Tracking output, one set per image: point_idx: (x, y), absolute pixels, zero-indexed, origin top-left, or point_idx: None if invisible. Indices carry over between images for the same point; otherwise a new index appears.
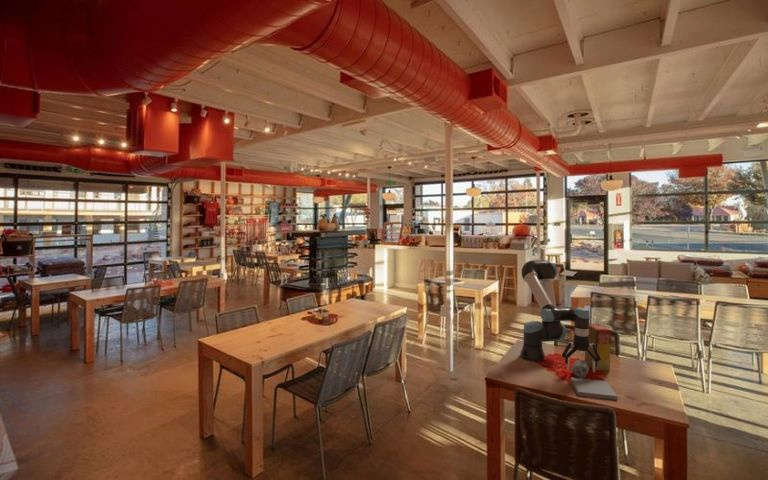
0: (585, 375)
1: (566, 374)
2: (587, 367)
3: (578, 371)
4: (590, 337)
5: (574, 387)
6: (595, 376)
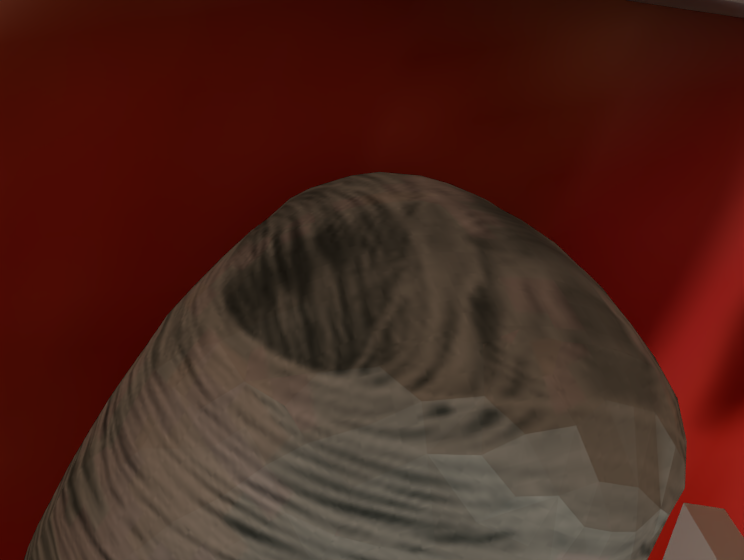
0: (300, 194)
1: None
2: (113, 433)
3: (544, 250)
4: None
5: None
6: (4, 394)
